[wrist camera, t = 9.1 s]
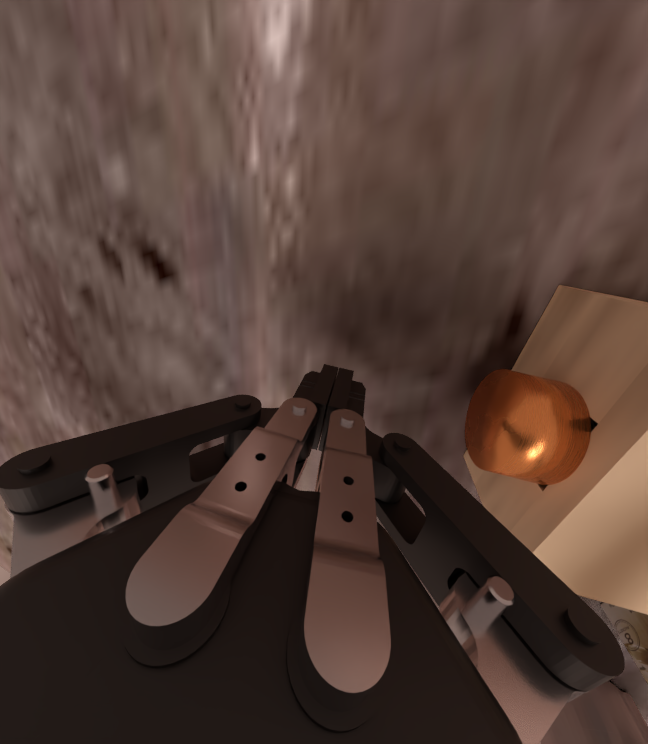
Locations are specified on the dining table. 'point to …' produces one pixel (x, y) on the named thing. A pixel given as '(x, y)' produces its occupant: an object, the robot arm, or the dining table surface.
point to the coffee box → (631, 633)
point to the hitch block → (588, 451)
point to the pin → (527, 427)
